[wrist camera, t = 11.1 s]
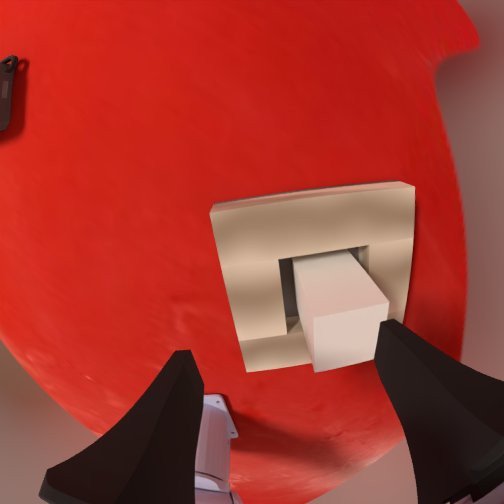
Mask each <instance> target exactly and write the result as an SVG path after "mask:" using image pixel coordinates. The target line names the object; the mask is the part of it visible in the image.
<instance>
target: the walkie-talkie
mask: <svg viewBox="0 0 504 504" xmlns="http://www.w3.org/2000/svg"><path fill="white" fill-rule="evenodd" d="M11 60H12V61H11ZM10 61H11V64H6V63H8V62H10ZM17 63H18V57H17V56H13V55H12V56H8V57H7V58H5V59H4V60H2V61H1V62H0V131H3V130H4V129H6V128H7V126H8V124H9V122H10V116H11V98H12V87H13V78H14V70H15V68H16V66H17Z"/></svg>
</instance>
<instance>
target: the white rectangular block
mask: <svg viewBox="0 0 504 504" xmlns="http://www.w3.org/2000/svg"><path fill="white" fill-rule="evenodd" d="M292 266H293V276H294V286H295V297H296V306H297V309H298V313H299V317H300V320H301V324H302V327H303V331H304V335H305V338H306V342H307V346H308V349H309V353H310V357H311V361H312V364H313V368H314V372H315V373H316V372H321V371H326V370H330V369H335V368H340V367H344V366H348V365H353V364H357V363H361V362H365V361H369V360H372V359H374V354H375V349H376V344H377V338H378V332H379V326H380V322H381V321H385V320H387V315H388V308H389V301H388V300H387V298H386V297H385V296H384V294H383V293H382V292H381V290H380V289H379V288H378V287H377V285H376V284H375V283H374V282H373V280H372V279H371V278H370V276H369V275H368V274H367V273H366V271H365V270H364V269H363V268H362V267H361V265H360V264H359V263H358V262H357V260H356V259H355V258H354V257H353V256H352V254H351V253H350V252H349V251H348V250H347V249H341V250H334V251H328V252H322V253H315V254H309V255H303V256H296V257H292Z"/></svg>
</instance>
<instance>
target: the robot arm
mask: <svg viewBox="0 0 504 504" xmlns="http://www.w3.org/2000/svg"><path fill="white" fill-rule="evenodd" d="M374 361H375V365H376V368H377V371H378V374H379V377H380V379H381V382H382V384H383V386H384V388H385V390H386V392H387V394H388V396H389V399H390V401H391V403H392V405H393V407H394V409H395V411H396V413H397V415H398V418H399V420H400V422H401V425H402V427H403V430H404V433H405V436H406V440H407V443H408V446H409V450H410V455H411V459H412V463H413V468H414V474H415V479H416V487H417V496H418V504H446V503H448V502H450V504H504V381H501V380H498V379H495V378H492V377H490V376H487V375H485V374H482V373H480V372H478V371H476V370H474V369H472V368H470V367H468V366H466V365H463V364H462V363H460V362H458V361H456V360H455V359H453V358H451V357H450V356H448V355H446V354H445V353H443V352H442V351H440V350H439V349H437V348H436V347H434V346H433V345H431V344H430V343H428V342H427V341H425V340H424V339H422V338H421V337H420V336H418V335H417V334H415V333H414V332H413V331H411V330H410V329H408V328H407V327H406V326H404V325H403V324H401V323H400V322H399V321H397V320H395V319H394V318H393V319H389V320H385V321H381V322H380V326H379V332H378V338H377V344H376V349H375V354H374ZM237 437H238V432H237V430H236V427H235V425H234V423H233V421H232V418H231V416H230V414H229V411H228V409H227V406H226V404H225V402H224V399H223V397H222V396H221V395H219V394H212V395H204V382H203V380H202V378H201V375H200V373H199V370H198V368H197V365H196V363H195V360H194V358H193V355H192V352H191V350H179V351H175V352H174V353H173V354H172V356H171V357H170V359H169V360H168V361H167V363H166V364H165V366H164V367H163V368H162V370H161V371H160V373H159V374H158V375H157V377H156V378H155V379H154V381H153V382H152V383H151V385H150V386H149V387H148V389H147V390H146V391H145V392H144V394H143V395H142V396H141V397H140V399H139V400H138V401H137V402H136V403H135V404H134V406H133V407H132V408H131V409H130V410H129V411H128V412H127V413H126V415H125V416H124V417H123V418H122V419H121V420H120V421H119V422H118V423H117V424H116V425H114V426H113V427H112V428H111V429H110V430H109V431H108V432H106V433H105V434H104V435H103V436H102V437H100V438H99V439H98V440H97V441H95V442H94V443H93V444H91V445H90V446H89V447H87V448H86V449H84V450H83V451H81V452H80V453H78V454H76V455H75V456H73V457H71V458H70V459H68V460H66V461H64V462H62V463H60V464H58V465H56V466H54V467H52V468H49V469H47V472H46V475H45V477H44V480H43V483H42V486H41V489H40V492H39V497H40V498H41V499H43V500H44V501H46V502H48V503H49V504H243V502H242V500H241V498H240V497H239V496H238V494H237V493H236V492H235V491H234V490H230V482H227V481H228V478H229V474H230V442H231V438H237Z"/></svg>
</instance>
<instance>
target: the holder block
mask: <svg viewBox="0 0 504 504" xmlns="http://www.w3.org/2000/svg"><path fill="white" fill-rule="evenodd" d="M210 218H211V223H212V227H213V232H214V237H215V241H216V246H217V250H218V255H219V259H220V264H221V268H222V273H223V277H224V282H225V286H226V290H227V294H228V299H229V303H230V307H231V311H232V315H233V319H234V324H235V328H236V332H237V336H238V340H239V344H240V348H241V351H242V355H243V359H244V363H245V367H246V371H247V372H253V371H262V370H269V369H276V368H283V367H290V366H296V365H302V364H307V363H312V361H311V357H310V353H309V349H308V346H307V342H306V338H305V335H304V331H303V327H302V324H301V320H300V317H299V313H298V309H297V306H296V297H295V286H294V276H293V266H292V257H296V256H303V255H309V254H315V253H322V252H328V251H334V250H341V249H347V250H348V251H349V252H350V253H351V254H352V256H353V257H354V258H355V259H356V260H357V262H358V263H359V264H360V265H361V267H362V268H363V269H364V270H365V271H366V273H367V274H368V275H369V276H370V278H371V279H372V280H373V282H374V283H375V284H376V285H377V287H378V288H379V289H380V290H381V292H382V293H383V294H384V296H385V297H386V298H387V300H388V301H389V308H388V315H387V320H389V319H393V318H394V319H395V320H397V321H399V322H400V323H401V324H402V323H403V318H404V312H405V306H406V300H407V294H408V287H409V279H410V271H411V262H412V251H413V238H414V218H415V187H414V186H411V185H409V184H406V183H403V182H400V181H397V180H393V181H381V182H369V183H359V184H349V185H339V186H330V187H321V188H313V189H305V190H297V191H290V192H283V193H276V194H269V195H262V196H255V197H249V198H243V199H237V200H230V201H225V202H219V203H214V205H213V207H212V209H211V211H210Z"/></svg>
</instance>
